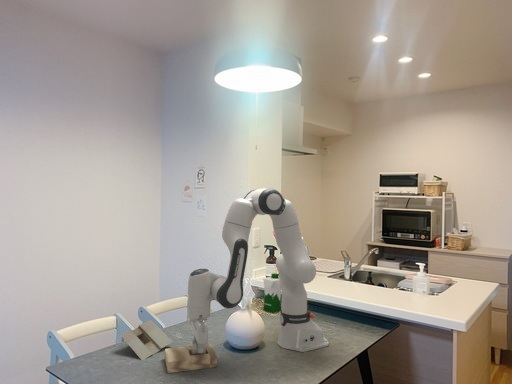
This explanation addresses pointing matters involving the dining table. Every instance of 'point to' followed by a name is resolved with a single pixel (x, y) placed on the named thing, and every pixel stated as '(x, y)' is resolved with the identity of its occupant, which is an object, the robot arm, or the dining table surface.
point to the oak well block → (189, 359)
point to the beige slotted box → (146, 339)
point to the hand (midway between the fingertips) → (198, 347)
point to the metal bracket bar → (196, 348)
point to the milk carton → (272, 294)
